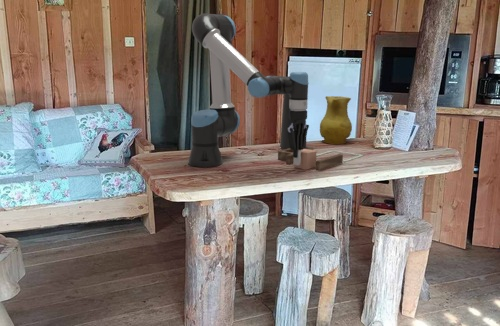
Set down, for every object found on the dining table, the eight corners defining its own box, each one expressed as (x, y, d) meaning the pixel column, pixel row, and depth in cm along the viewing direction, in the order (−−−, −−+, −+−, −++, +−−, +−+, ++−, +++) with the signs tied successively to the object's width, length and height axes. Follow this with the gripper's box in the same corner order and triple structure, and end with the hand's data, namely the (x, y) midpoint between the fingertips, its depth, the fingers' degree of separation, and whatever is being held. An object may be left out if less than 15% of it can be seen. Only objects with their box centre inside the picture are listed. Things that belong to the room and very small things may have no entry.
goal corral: (314, 156, 233) (314, 155, 233) (333, 150, 245) (333, 150, 245) (344, 162, 222) (345, 161, 222) (363, 156, 234) (363, 155, 234)
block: (293, 166, 213) (293, 151, 212) (302, 163, 218) (303, 148, 217) (306, 169, 209) (307, 153, 207) (315, 166, 214) (316, 150, 212)
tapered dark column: (293, 151, 243) (295, 93, 236) (274, 147, 253) (275, 91, 246) (311, 147, 252) (313, 91, 245) (292, 143, 262) (294, 89, 255)
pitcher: (311, 141, 267) (316, 95, 261) (332, 138, 279) (337, 94, 274) (336, 146, 255) (342, 98, 249) (357, 143, 267) (363, 98, 261)
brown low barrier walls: (272, 160, 224) (272, 152, 223) (296, 154, 236) (296, 146, 236) (319, 170, 207) (319, 161, 206) (342, 163, 219) (342, 154, 219)
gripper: (296, 112, 196) (294, 168, 202) (314, 109, 205) (312, 163, 211) (281, 110, 201) (280, 165, 207) (300, 107, 210) (299, 160, 216)
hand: (296, 164), depth 209 cm, fingers closed
